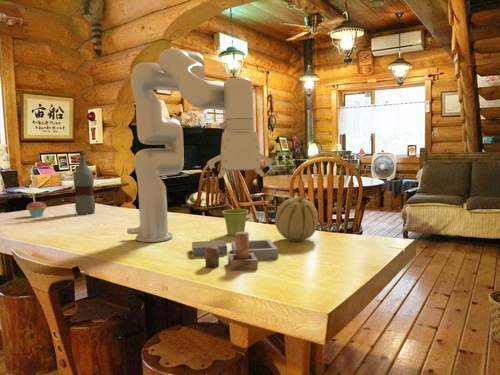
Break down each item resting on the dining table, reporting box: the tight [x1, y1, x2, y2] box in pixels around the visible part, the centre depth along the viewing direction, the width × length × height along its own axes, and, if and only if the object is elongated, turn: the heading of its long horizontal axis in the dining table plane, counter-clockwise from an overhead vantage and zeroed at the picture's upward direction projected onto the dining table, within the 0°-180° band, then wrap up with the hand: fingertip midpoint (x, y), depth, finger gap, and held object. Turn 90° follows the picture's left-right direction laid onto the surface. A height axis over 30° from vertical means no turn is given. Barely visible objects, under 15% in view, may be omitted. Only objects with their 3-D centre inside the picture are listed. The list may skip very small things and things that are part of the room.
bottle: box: [73, 152, 96, 216], centre depth 202 cm, size 9×9×30 cm
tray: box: [231, 239, 279, 260], centre depth 122 cm, size 12×12×3 cm
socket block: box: [227, 253, 259, 272], centre depth 110 cm, size 7×7×2 cm
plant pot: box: [221, 208, 249, 237], centre depth 149 cm, size 9×9×9 cm
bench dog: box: [204, 246, 220, 269], centre depth 111 cm, size 4×4×5 cm
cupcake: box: [26, 193, 47, 218], centre depth 197 cm, size 9×8×12 cm
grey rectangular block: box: [191, 239, 228, 258], centre depth 125 cm, size 10×8×3 cm
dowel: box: [234, 231, 250, 260], centre depth 110 cm, size 4×4×9 cm
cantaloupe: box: [274, 196, 320, 242], centre depth 138 cm, size 15×15×15 cm
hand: (241, 192), depth 109 cm, fingers open, 9 cm apart
